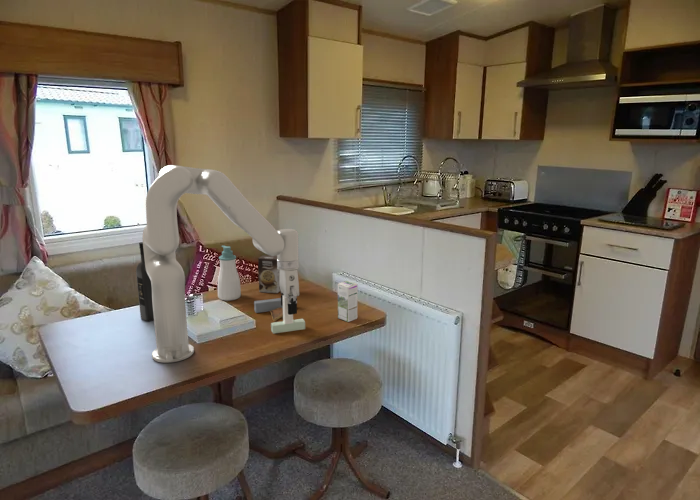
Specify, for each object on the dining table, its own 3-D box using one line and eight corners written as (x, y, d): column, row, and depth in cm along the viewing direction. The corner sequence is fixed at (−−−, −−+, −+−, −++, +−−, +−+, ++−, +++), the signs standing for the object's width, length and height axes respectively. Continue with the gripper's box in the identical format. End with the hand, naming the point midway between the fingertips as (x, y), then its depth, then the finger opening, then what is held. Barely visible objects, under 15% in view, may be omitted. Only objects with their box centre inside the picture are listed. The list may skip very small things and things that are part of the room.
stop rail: (294, 307, 188) (294, 298, 187) (255, 312, 182) (255, 303, 181) (292, 305, 191) (292, 296, 190) (254, 310, 185) (254, 301, 184)
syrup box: (357, 318, 178) (358, 283, 174) (347, 322, 173) (348, 286, 170) (347, 314, 181) (347, 280, 178) (337, 318, 177) (337, 283, 174)
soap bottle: (234, 292, 207) (231, 243, 202) (245, 297, 200) (242, 247, 195) (214, 297, 201) (211, 246, 195) (224, 302, 194) (221, 250, 188)
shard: (273, 322, 174) (273, 318, 173) (258, 318, 178) (258, 314, 177) (291, 314, 182) (291, 310, 182) (277, 310, 187) (277, 306, 186)
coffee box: (258, 292, 208) (257, 258, 204) (263, 288, 214) (262, 254, 210) (277, 293, 206) (276, 259, 203) (282, 289, 213) (281, 255, 209)
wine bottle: (147, 322, 172) (140, 244, 165) (139, 318, 175) (132, 242, 168) (161, 317, 176) (154, 242, 169) (153, 314, 179) (146, 240, 173)
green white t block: (302, 326, 170) (302, 293, 167) (305, 329, 167) (304, 295, 164) (271, 330, 166) (270, 296, 163) (273, 333, 163) (271, 299, 160)
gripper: (305, 269, 155) (305, 316, 158) (291, 257, 170) (292, 300, 174) (283, 271, 152) (284, 319, 156) (271, 259, 167) (273, 303, 171)
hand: (288, 309), depth 165 cm, fingers open, 9 cm apart
